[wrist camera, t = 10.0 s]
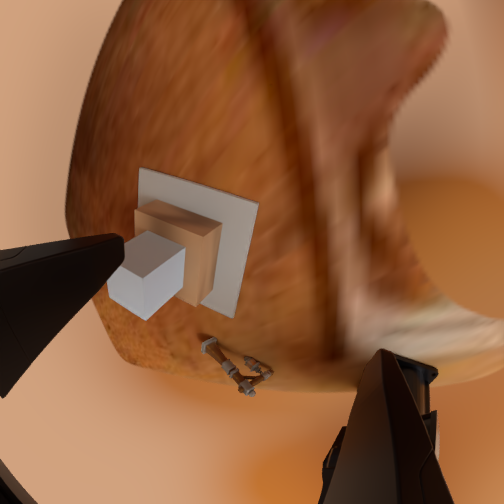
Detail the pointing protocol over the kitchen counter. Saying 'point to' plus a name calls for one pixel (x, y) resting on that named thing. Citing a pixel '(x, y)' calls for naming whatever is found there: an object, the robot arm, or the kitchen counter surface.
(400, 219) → the kitchen counter surface
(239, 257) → the build mat
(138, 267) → the grey block
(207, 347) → the wooden post with brackets
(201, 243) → the plinth
